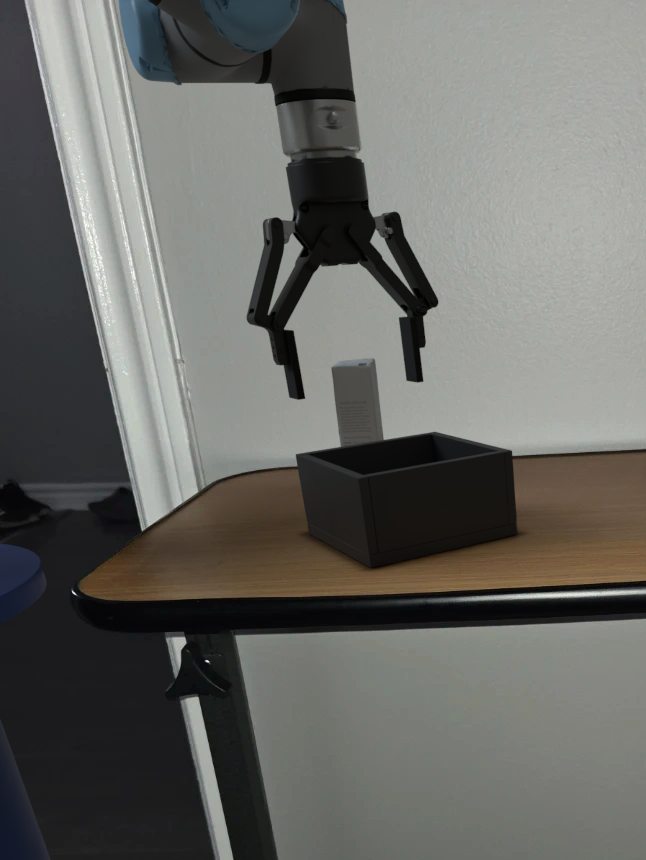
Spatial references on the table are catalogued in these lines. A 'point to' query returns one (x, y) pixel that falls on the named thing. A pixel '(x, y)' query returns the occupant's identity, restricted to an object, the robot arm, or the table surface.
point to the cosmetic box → (357, 401)
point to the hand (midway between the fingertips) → (358, 389)
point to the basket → (408, 496)
